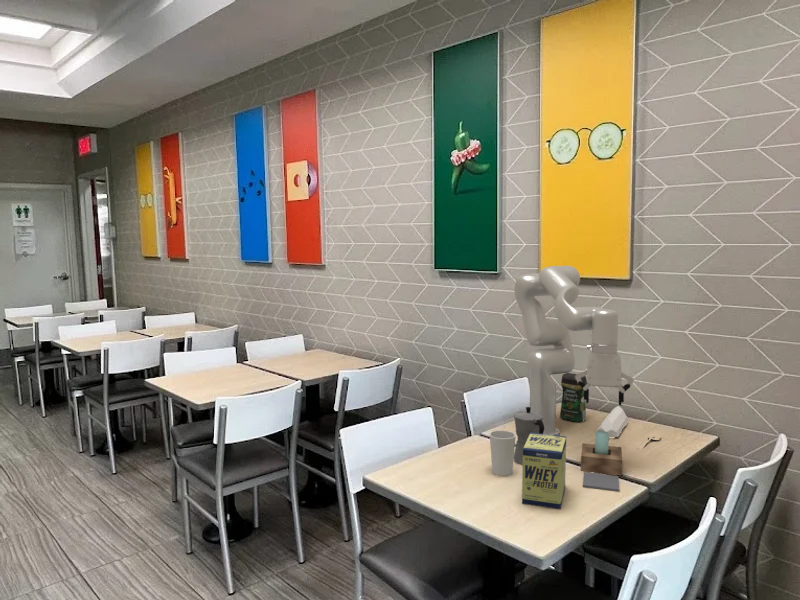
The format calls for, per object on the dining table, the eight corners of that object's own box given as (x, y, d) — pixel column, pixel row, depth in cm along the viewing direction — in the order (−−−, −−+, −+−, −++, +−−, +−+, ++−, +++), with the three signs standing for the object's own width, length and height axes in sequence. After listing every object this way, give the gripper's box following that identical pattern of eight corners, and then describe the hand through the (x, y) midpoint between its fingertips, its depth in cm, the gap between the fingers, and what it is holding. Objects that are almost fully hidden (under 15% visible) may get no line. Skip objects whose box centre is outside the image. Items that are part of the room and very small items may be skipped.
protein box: (521, 504, 158) (522, 448, 157) (529, 482, 173) (530, 431, 171) (561, 510, 155) (562, 453, 153) (565, 487, 169) (566, 435, 168)
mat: (582, 487, 169) (582, 485, 169) (583, 474, 178) (583, 472, 178) (619, 491, 166) (619, 489, 166) (618, 478, 175) (618, 476, 175)
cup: (517, 468, 183) (517, 431, 182) (513, 478, 176) (513, 439, 175) (491, 465, 186) (492, 429, 185) (487, 475, 178) (487, 437, 177)
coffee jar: (557, 419, 234) (558, 373, 233) (566, 414, 240) (567, 370, 238) (579, 424, 228) (580, 377, 226) (588, 419, 234) (589, 374, 232)
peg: (594, 468, 183) (595, 434, 182) (594, 463, 187) (595, 430, 186) (607, 469, 182) (608, 435, 181) (607, 465, 186) (608, 431, 184)
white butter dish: (604, 410, 233) (590, 426, 213) (621, 403, 230) (608, 419, 209) (613, 427, 232) (600, 445, 212) (630, 420, 228) (618, 438, 208)
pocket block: (580, 471, 181) (581, 455, 180) (582, 457, 192) (582, 443, 191) (621, 476, 177) (622, 460, 176) (620, 462, 188) (621, 447, 187)
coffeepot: (504, 455, 194) (505, 403, 193) (529, 452, 198) (530, 400, 196) (529, 472, 180) (530, 416, 178) (555, 468, 183) (556, 412, 181)
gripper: (574, 350, 180) (574, 404, 181) (635, 352, 174) (633, 408, 176) (575, 346, 187) (575, 398, 188) (633, 348, 181) (632, 402, 183)
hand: (603, 403), depth 182 cm, fingers open, 9 cm apart
